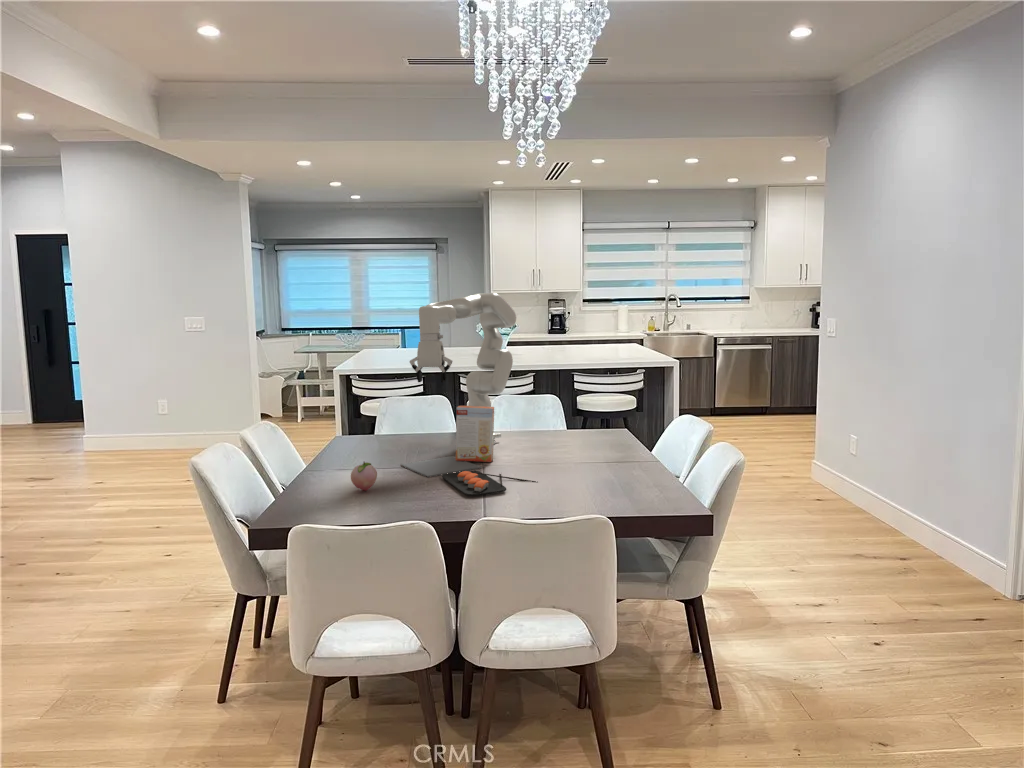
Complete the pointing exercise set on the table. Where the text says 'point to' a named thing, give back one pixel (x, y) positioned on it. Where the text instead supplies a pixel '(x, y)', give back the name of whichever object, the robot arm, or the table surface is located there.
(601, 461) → the table surface
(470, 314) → the robot arm
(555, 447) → the table surface
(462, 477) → the sushi plate
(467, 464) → the mat
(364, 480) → the decorative fruit
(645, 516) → the table surface
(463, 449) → the cracker box
